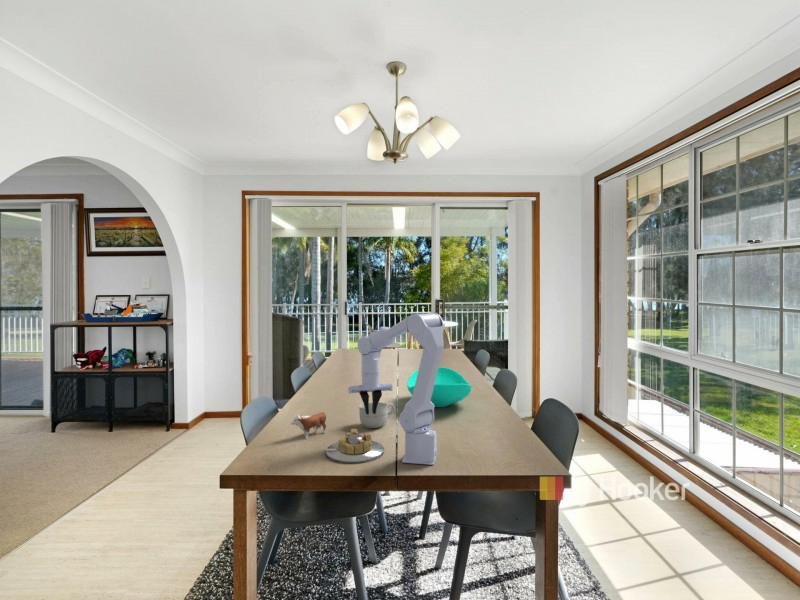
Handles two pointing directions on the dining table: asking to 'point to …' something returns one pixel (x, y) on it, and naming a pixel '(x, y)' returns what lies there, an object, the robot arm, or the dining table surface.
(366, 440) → the ring nut
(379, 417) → the teacup
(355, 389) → the robot arm
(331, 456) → the flange
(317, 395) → the dining table surface
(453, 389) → the table top decor
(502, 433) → the dining table surface
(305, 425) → the bull figurine
